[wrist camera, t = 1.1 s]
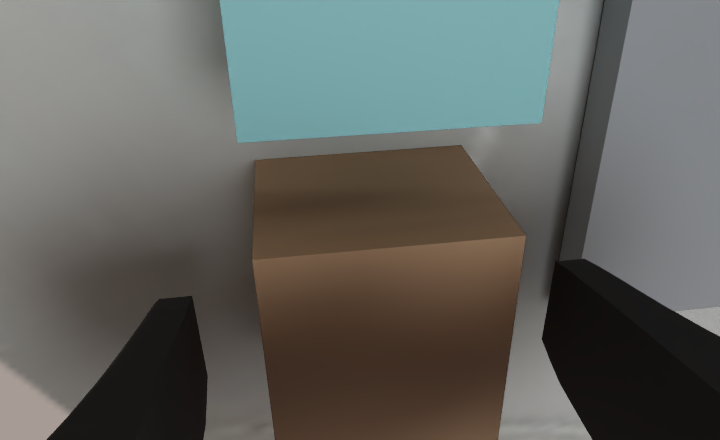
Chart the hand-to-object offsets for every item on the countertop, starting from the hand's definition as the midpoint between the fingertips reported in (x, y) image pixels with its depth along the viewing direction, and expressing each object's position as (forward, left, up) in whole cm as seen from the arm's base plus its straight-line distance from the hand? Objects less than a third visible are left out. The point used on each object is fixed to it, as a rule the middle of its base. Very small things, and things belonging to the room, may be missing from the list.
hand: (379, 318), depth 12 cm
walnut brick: (0, 0, -3) cm, 3 cm away
